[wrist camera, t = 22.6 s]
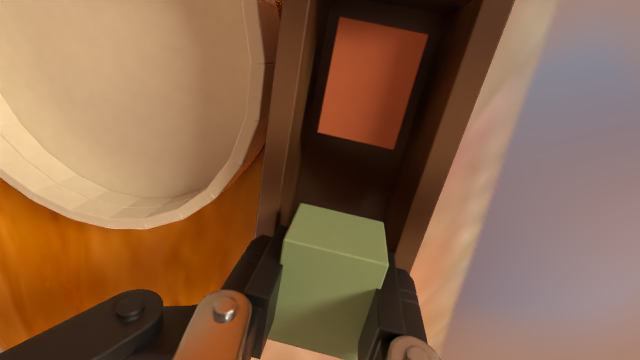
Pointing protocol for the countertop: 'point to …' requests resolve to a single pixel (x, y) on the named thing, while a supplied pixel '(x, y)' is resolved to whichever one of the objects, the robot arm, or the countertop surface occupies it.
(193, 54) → the bowl
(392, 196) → the holder
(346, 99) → the orange rectangular block
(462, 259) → the countertop surface
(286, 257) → the green block
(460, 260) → the countertop surface
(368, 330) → the robot arm
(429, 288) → the countertop surface
